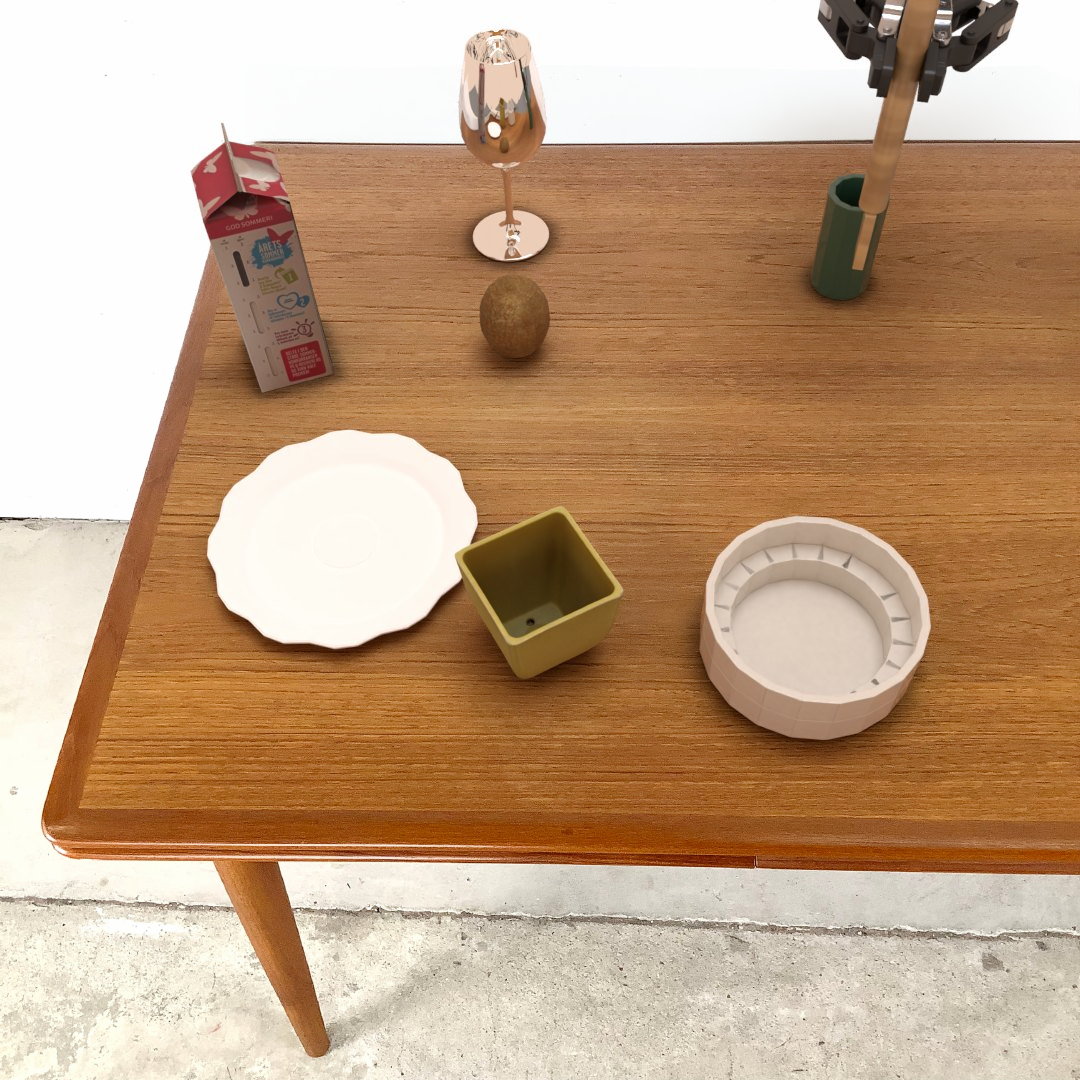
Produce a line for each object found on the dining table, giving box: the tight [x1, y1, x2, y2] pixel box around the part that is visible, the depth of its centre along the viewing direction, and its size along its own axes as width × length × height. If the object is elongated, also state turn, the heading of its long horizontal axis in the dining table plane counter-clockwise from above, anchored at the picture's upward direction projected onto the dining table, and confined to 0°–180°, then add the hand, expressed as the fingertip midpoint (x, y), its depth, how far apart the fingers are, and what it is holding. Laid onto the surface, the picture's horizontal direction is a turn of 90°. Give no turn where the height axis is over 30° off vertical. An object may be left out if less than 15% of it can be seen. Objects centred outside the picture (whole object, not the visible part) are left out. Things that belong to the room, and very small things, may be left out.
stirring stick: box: [852, 0, 941, 270], centre depth 77 cm, size 3×2×24 cm
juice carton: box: [190, 122, 335, 393], centre depth 93 cm, size 7×7×22 cm
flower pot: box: [455, 505, 624, 680], centre depth 80 cm, size 9×9×9 cm
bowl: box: [699, 515, 932, 741], centre depth 80 cm, size 15×15×6 cm
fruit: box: [479, 273, 551, 359], centre depth 98 cm, size 6×6×8 cm
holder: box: [810, 172, 891, 301], centre depth 101 cm, size 5×5×10 cm
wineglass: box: [458, 28, 550, 263], centre depth 102 cm, size 8×8×20 cm
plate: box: [206, 429, 479, 650], centre depth 89 cm, size 21×21×2 cm
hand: (905, 86), depth 72 cm, fingers closed on stirring stick, 2 cm apart
